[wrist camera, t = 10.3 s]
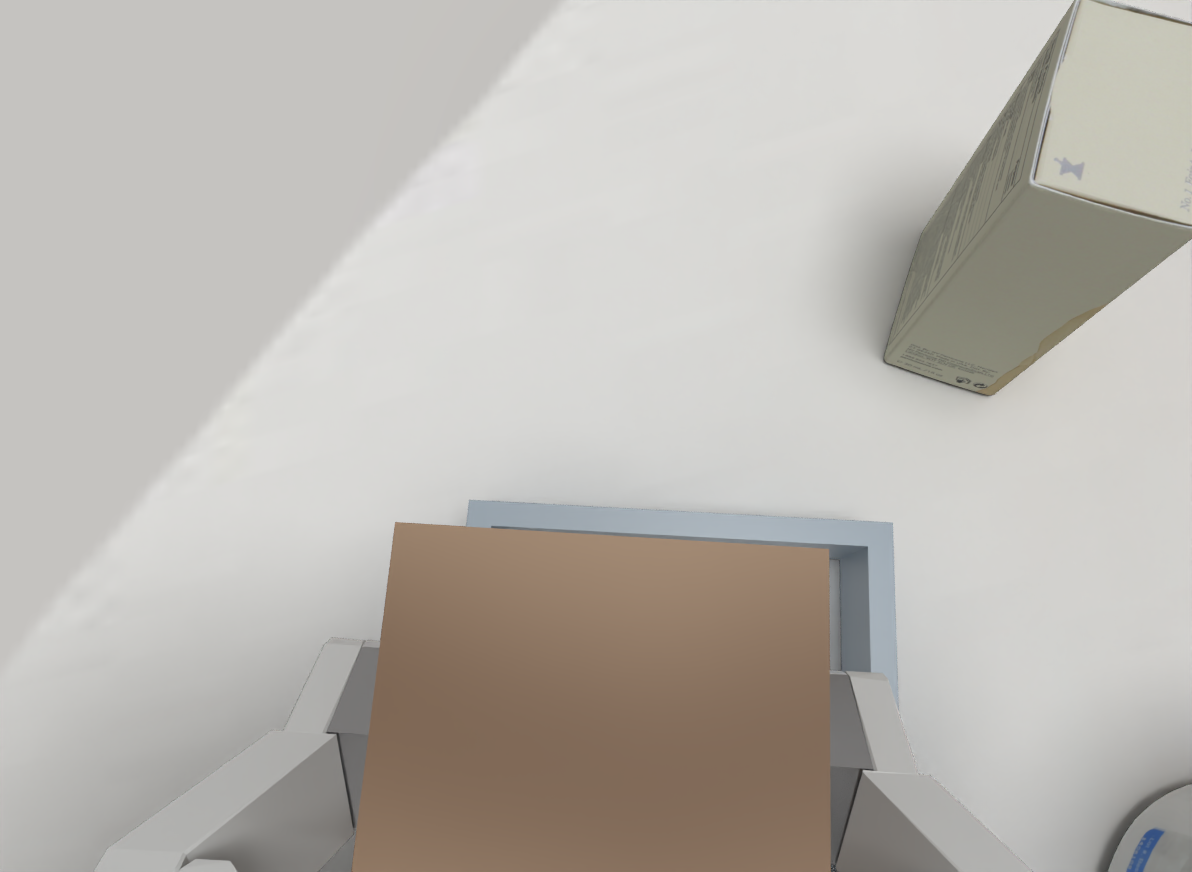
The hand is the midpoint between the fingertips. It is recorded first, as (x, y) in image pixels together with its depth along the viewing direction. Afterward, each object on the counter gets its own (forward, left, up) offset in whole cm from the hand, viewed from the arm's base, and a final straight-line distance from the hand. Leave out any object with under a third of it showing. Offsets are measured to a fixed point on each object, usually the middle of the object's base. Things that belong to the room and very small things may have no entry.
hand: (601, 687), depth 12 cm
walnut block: (-1, 0, -4) cm, 4 cm away
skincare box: (+14, -12, -19) cm, 27 cm away
